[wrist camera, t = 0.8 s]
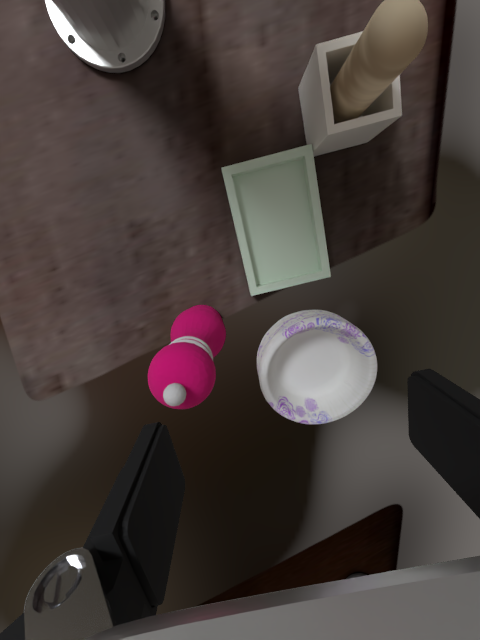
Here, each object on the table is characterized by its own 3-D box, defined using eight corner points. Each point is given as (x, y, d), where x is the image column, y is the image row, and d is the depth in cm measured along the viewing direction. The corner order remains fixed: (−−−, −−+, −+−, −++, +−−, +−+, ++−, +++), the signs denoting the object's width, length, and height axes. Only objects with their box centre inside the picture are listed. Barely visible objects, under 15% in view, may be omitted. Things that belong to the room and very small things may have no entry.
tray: (222, 173, 34) (221, 167, 31) (306, 151, 33) (311, 143, 31) (250, 293, 38) (251, 296, 35) (324, 274, 37) (330, 276, 35)
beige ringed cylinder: (315, 95, 31) (365, 2, 19) (353, 84, 30) (426, -15, 19) (321, 137, 32) (371, 75, 20) (357, 128, 32) (429, 59, 20)
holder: (298, 88, 31) (316, 44, 25) (360, 71, 31) (396, 21, 24) (308, 157, 33) (327, 135, 27) (367, 142, 33) (402, 115, 26)
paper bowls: (258, 399, 43) (263, 432, 35) (250, 308, 38) (255, 324, 31) (350, 390, 43) (376, 422, 35) (353, 299, 39) (383, 312, 31)
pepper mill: (228, 303, 38) (223, 360, 19) (224, 349, 40) (217, 443, 21) (178, 299, 38) (121, 353, 19) (177, 346, 40) (125, 438, 20)
